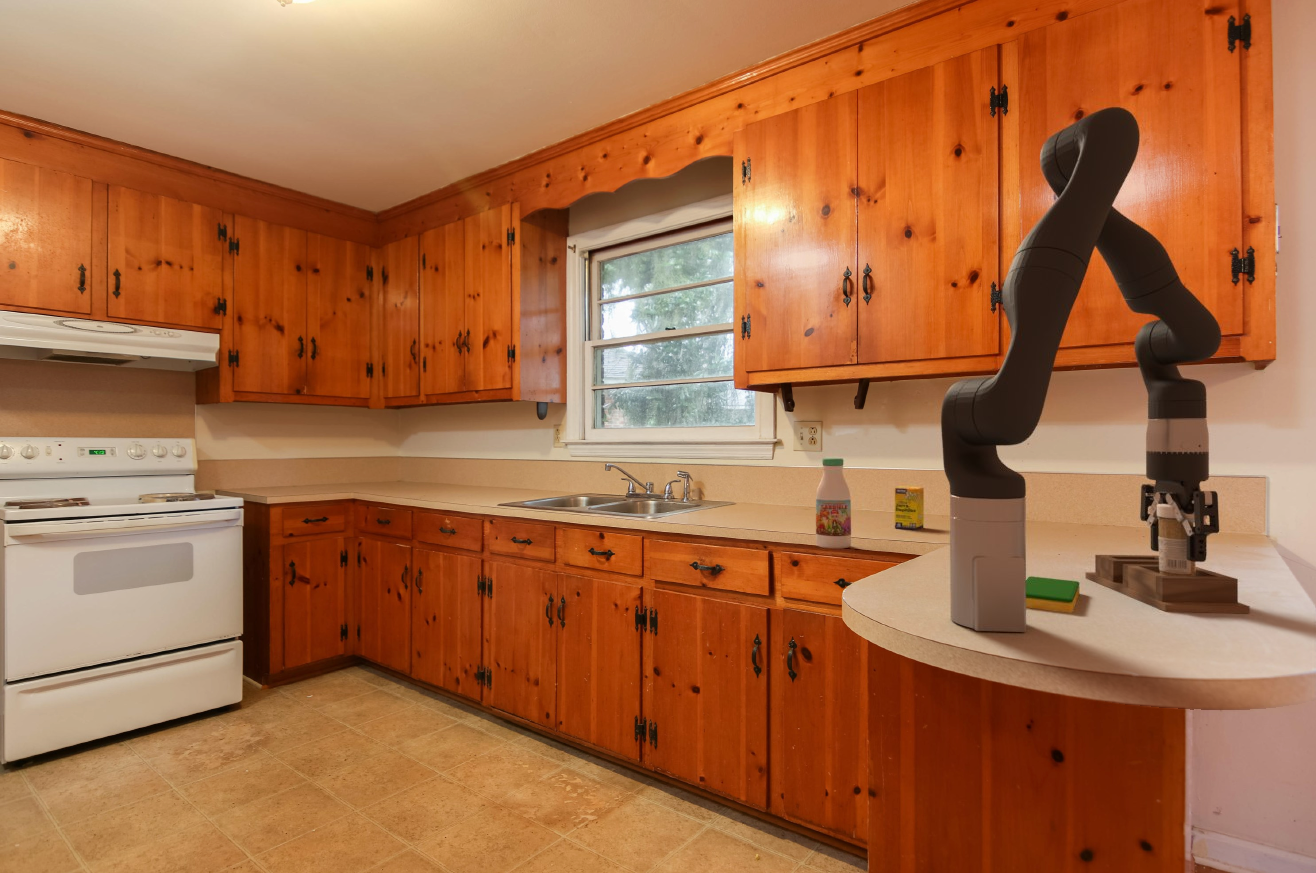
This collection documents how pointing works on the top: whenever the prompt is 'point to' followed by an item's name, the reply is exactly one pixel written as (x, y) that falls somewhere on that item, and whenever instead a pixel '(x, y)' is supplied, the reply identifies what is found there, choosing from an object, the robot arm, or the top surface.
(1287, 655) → the top surface
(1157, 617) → the top surface
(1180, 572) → the sprinkles bottle
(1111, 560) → the socket holder
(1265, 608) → the top surface
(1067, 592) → the dish sponge
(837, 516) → the milk bottle
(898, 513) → the supplement box
